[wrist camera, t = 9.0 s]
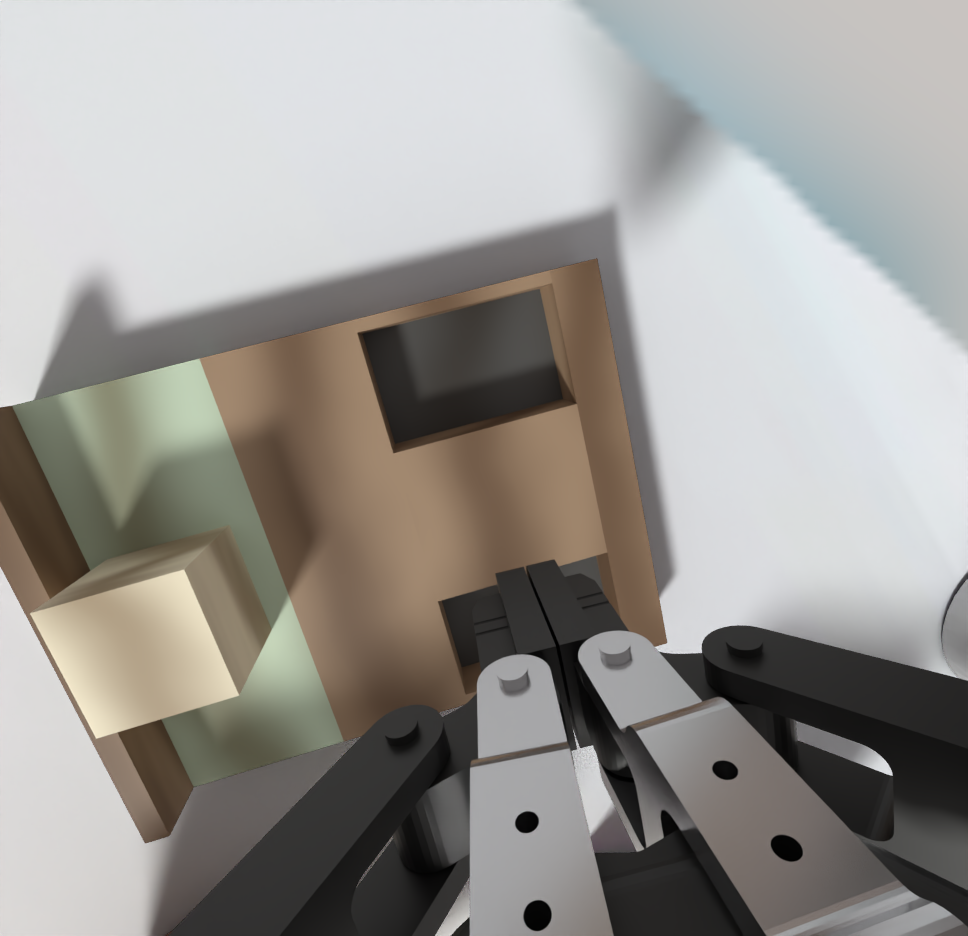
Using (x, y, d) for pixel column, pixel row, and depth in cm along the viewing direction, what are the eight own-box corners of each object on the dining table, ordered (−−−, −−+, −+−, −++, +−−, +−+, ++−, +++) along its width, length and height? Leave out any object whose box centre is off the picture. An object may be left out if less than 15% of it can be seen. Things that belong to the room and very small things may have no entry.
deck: (578, 267, 24) (620, 247, 19) (645, 617, 28) (693, 673, 24) (31, 405, 22) (-76, 422, 17) (193, 753, 27) (145, 843, 22)
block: (229, 525, 22) (184, 569, 18) (271, 629, 23) (239, 695, 19) (106, 559, 22) (29, 613, 17) (156, 663, 23) (96, 738, 19)
